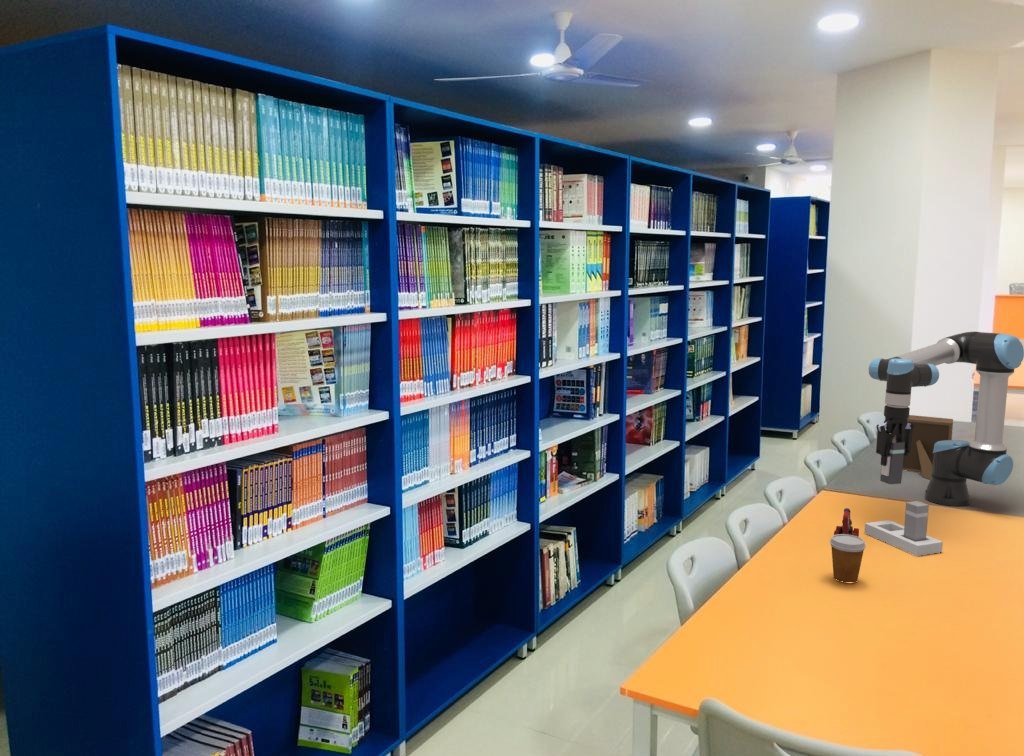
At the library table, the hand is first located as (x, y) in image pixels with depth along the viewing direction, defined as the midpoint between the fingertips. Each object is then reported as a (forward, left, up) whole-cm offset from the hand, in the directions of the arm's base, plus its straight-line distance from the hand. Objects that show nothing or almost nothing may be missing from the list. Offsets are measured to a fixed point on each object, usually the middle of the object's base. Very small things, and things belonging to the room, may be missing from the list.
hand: (891, 474), depth 262 cm
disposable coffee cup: (+42, +28, -20) cm, 54 cm away
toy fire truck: (+20, +3, -20) cm, 29 cm away
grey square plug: (+4, +15, -20) cm, 25 cm away
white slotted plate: (+4, +10, -20) cm, 23 cm away
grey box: (0, 0, -3) cm, 3 cm away
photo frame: (-66, -52, -20) cm, 86 cm away
